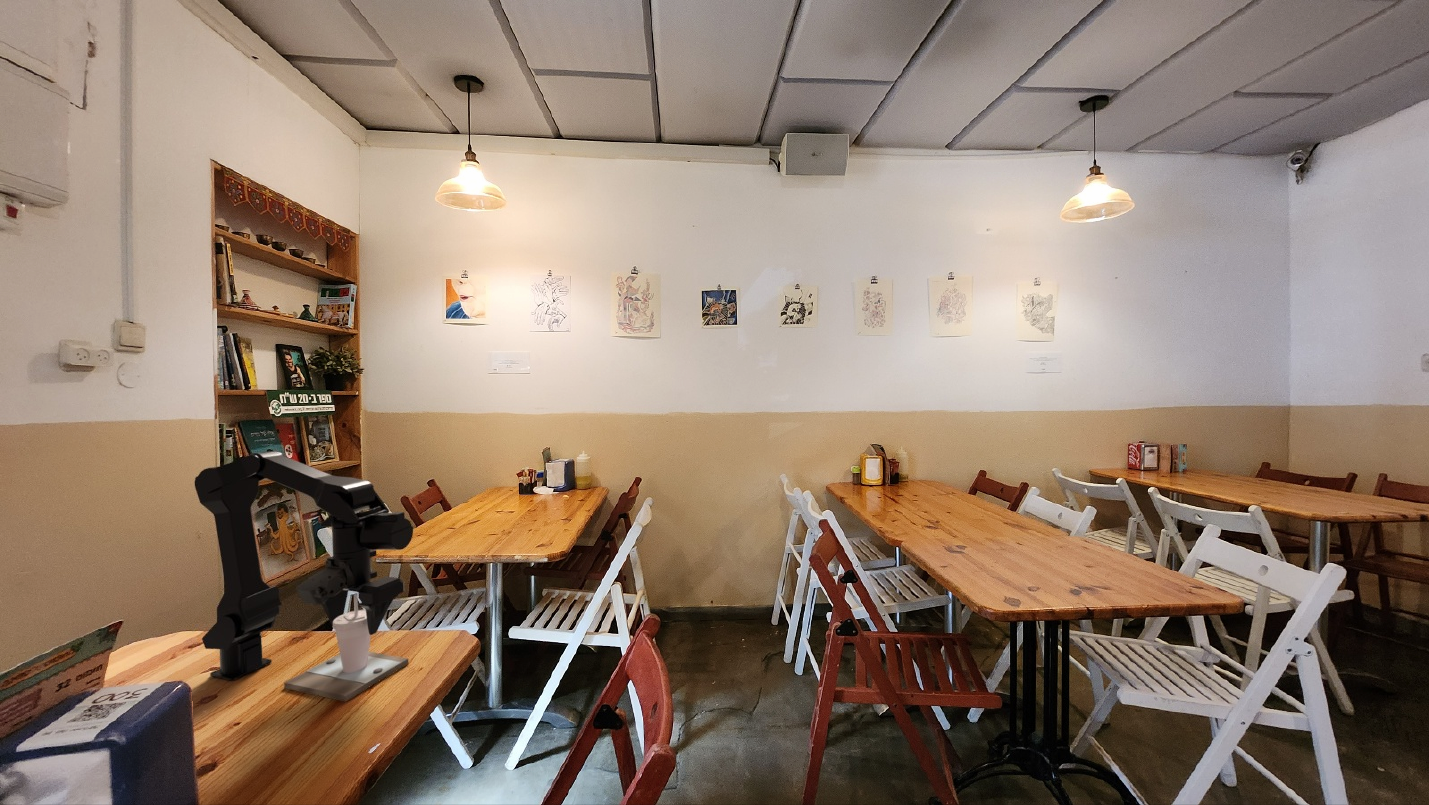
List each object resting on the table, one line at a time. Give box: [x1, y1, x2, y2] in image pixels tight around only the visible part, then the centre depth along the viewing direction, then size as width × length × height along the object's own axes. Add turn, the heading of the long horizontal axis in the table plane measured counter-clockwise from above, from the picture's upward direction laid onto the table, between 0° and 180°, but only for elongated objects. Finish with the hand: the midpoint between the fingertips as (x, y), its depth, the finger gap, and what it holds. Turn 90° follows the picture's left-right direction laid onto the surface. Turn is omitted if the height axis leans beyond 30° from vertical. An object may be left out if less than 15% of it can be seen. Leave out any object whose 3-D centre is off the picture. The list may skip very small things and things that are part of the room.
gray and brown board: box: [283, 651, 409, 702], centre depth 90 cm, size 15×12×1 cm
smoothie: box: [331, 592, 372, 673], centre depth 91 cm, size 6×6×14 cm
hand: (354, 631), depth 91 cm, fingers open, 9 cm apart
